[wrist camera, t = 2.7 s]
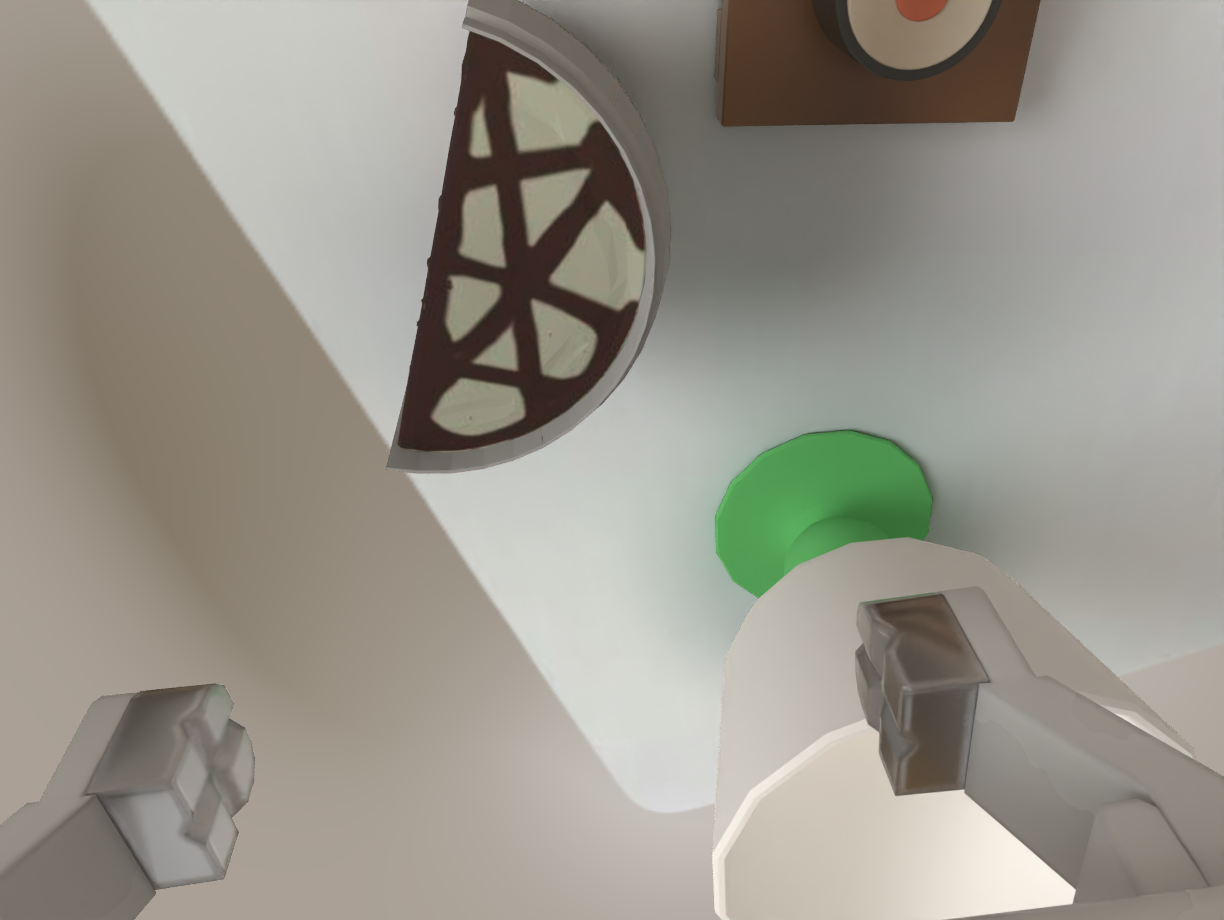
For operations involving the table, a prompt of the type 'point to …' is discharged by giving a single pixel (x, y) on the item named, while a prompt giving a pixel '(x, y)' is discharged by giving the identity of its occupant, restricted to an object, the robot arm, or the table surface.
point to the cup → (858, 701)
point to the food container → (532, 250)
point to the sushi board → (851, 93)
